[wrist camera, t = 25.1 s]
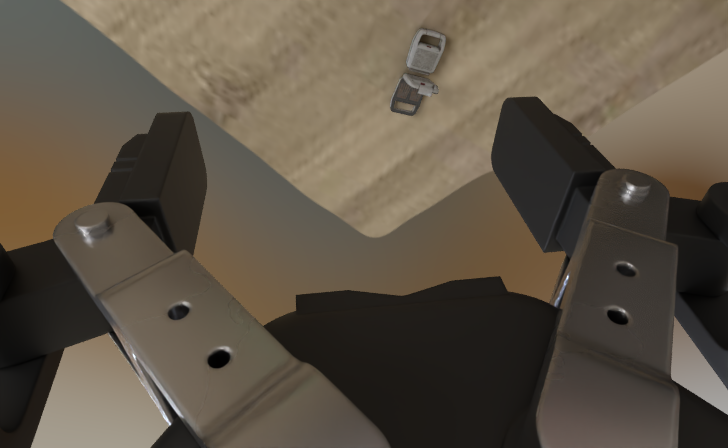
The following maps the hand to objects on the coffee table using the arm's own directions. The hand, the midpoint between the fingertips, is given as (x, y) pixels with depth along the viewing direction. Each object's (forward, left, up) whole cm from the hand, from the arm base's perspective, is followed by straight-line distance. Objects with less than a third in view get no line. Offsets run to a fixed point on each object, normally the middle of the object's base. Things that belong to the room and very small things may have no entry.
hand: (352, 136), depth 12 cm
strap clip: (-10, +12, -32) cm, 36 cm away
